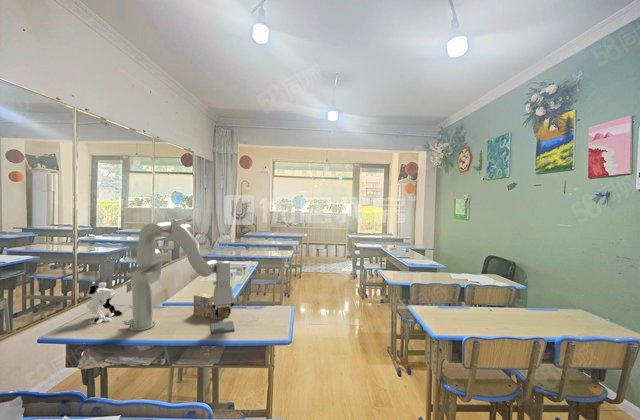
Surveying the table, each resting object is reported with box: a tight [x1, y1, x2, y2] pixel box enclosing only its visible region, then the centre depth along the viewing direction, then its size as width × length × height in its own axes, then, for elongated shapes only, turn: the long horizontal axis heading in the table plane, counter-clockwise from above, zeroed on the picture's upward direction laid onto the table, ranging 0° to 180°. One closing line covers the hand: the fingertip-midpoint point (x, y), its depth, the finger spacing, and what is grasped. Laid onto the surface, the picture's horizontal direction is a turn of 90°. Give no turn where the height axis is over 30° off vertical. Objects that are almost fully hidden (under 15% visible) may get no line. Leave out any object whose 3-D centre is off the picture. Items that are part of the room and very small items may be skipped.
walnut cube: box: [218, 304, 229, 320], centre depth 168 cm, size 6×6×6 cm
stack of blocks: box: [193, 292, 228, 321], centre depth 186 cm, size 21×6×12 cm, turn 65°
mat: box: [210, 320, 235, 335], centre depth 168 cm, size 12×12×1 cm
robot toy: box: [86, 282, 123, 325], centre depth 179 cm, size 19×14×20 cm
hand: (223, 315), depth 168 cm, fingers closed on walnut cube, 5 cm apart
